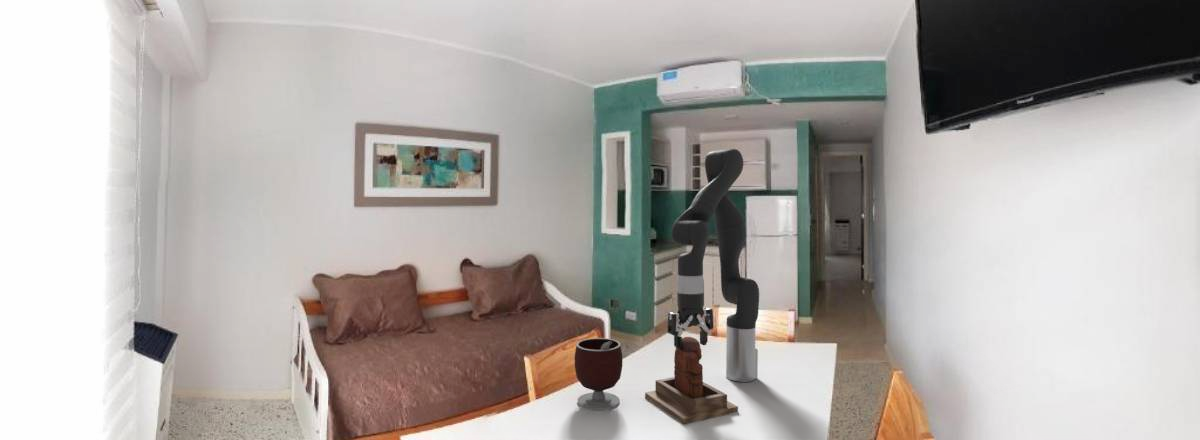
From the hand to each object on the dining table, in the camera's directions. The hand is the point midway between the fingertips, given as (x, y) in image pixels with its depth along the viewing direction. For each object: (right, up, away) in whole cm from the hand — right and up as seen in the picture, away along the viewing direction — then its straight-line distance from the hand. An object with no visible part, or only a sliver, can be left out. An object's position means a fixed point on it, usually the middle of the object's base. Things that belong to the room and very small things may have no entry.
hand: (690, 346), depth 143 cm
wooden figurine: (0, -16, +1) cm, 16 cm away
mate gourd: (-26, -17, +2) cm, 31 cm away
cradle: (0, -17, +1) cm, 17 cm away
